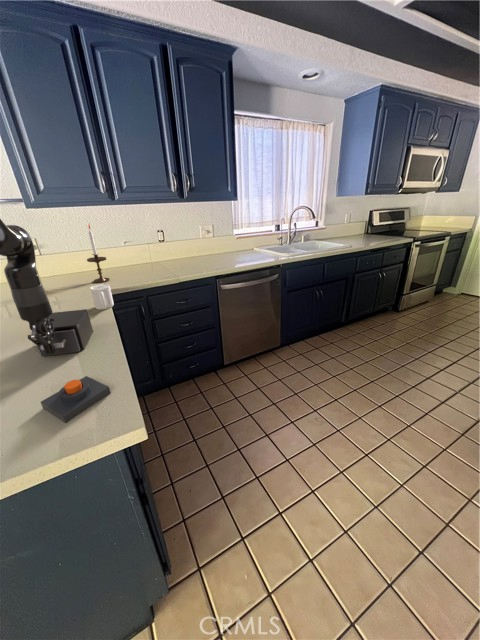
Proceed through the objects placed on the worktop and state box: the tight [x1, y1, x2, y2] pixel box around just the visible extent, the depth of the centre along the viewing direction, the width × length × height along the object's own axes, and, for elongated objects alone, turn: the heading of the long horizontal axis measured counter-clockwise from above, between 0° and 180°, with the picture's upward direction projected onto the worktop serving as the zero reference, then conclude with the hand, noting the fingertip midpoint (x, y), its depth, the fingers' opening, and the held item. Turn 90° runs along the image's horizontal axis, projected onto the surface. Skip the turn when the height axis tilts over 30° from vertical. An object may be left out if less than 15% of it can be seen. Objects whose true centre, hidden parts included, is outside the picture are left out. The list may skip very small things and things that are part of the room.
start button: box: [63, 379, 82, 394], centre depth 67 cm, size 4×4×2 cm
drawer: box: [37, 327, 81, 357], centre depth 90 cm, size 18×11×8 cm, turn 15°
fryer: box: [49, 308, 94, 351], centre depth 95 cm, size 15×13×10 cm
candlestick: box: [86, 223, 110, 284], centre depth 163 cm, size 11×11×35 cm
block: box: [40, 375, 112, 424], centre depth 68 cm, size 12×10×4 cm
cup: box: [89, 283, 115, 311], centre depth 125 cm, size 8×12×10 cm
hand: (51, 353), depth 81 cm, fingers closed
